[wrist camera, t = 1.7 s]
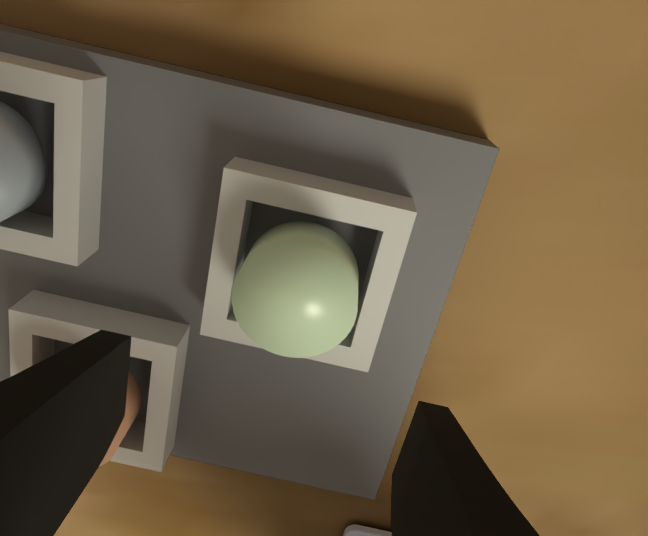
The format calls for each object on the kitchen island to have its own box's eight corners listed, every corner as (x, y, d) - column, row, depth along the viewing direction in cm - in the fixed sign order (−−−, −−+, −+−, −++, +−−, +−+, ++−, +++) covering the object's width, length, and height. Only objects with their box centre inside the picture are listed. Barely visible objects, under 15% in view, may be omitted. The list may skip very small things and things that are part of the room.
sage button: (343, 334, 18) (341, 369, 16) (238, 310, 18) (223, 342, 16) (371, 236, 16) (372, 261, 15) (256, 209, 16) (241, 231, 14)
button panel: (374, 473, 24) (375, 530, 21) (-40, 381, 23) (-93, 428, 21) (489, 139, 18) (511, 159, 15) (-68, 7, 17) (-150, 2, 14)
